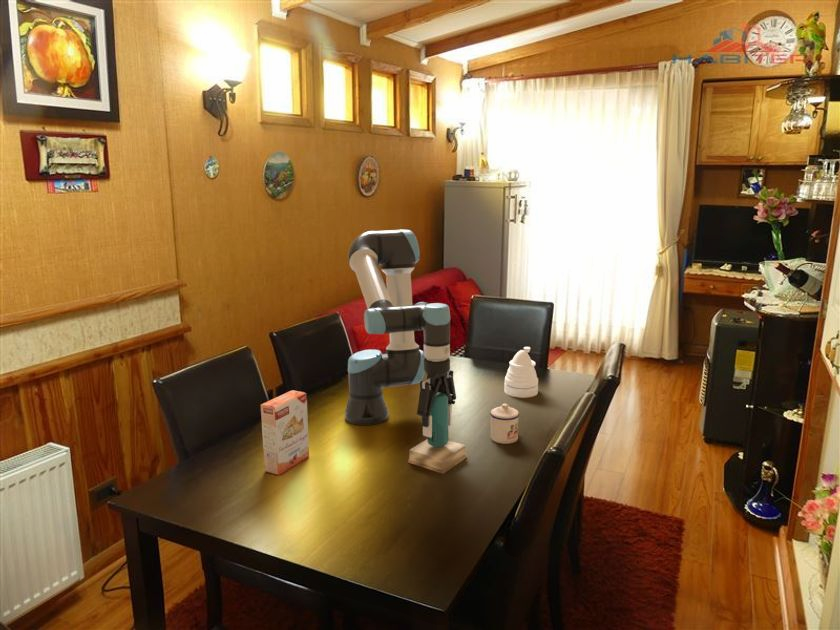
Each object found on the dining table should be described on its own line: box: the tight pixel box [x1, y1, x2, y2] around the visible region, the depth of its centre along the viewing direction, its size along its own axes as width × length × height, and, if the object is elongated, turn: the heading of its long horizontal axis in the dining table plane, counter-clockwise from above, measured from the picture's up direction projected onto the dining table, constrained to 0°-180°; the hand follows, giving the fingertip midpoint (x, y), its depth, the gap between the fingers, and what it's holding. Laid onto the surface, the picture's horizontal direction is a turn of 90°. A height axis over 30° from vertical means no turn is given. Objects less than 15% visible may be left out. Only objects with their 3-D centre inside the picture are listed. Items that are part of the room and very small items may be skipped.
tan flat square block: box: [407, 438, 467, 475], centre depth 186 cm, size 13×13×4 cm
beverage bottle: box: [426, 384, 450, 447], centre depth 184 cm, size 6×7×20 cm
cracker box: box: [260, 389, 310, 476], centre depth 183 cm, size 14×6×21 cm, turn 151°
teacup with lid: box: [490, 403, 520, 445], centre depth 201 cm, size 12×9×12 cm
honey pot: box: [503, 346, 539, 399], centre depth 240 cm, size 13×13×18 cm
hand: (437, 430), depth 184 cm, fingers open, 9 cm apart
